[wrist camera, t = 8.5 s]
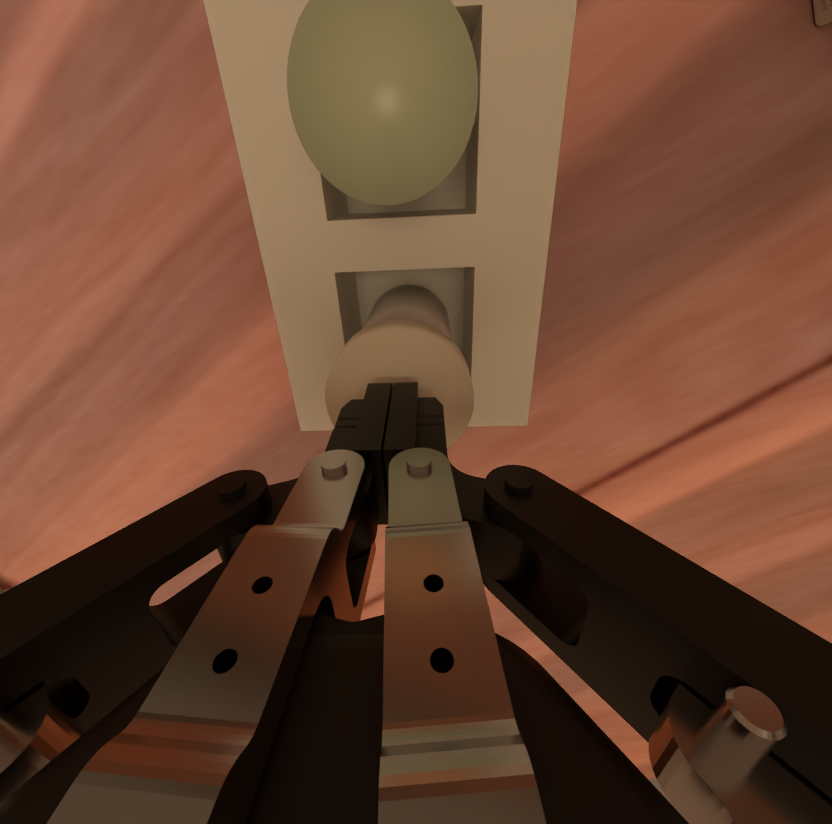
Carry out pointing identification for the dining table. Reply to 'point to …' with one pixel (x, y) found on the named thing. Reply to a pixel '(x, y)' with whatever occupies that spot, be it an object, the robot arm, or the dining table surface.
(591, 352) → the dining table surface
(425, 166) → the sage plunger
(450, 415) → the cream plunger
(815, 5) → the ink box
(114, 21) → the dining table surface
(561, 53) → the panel
